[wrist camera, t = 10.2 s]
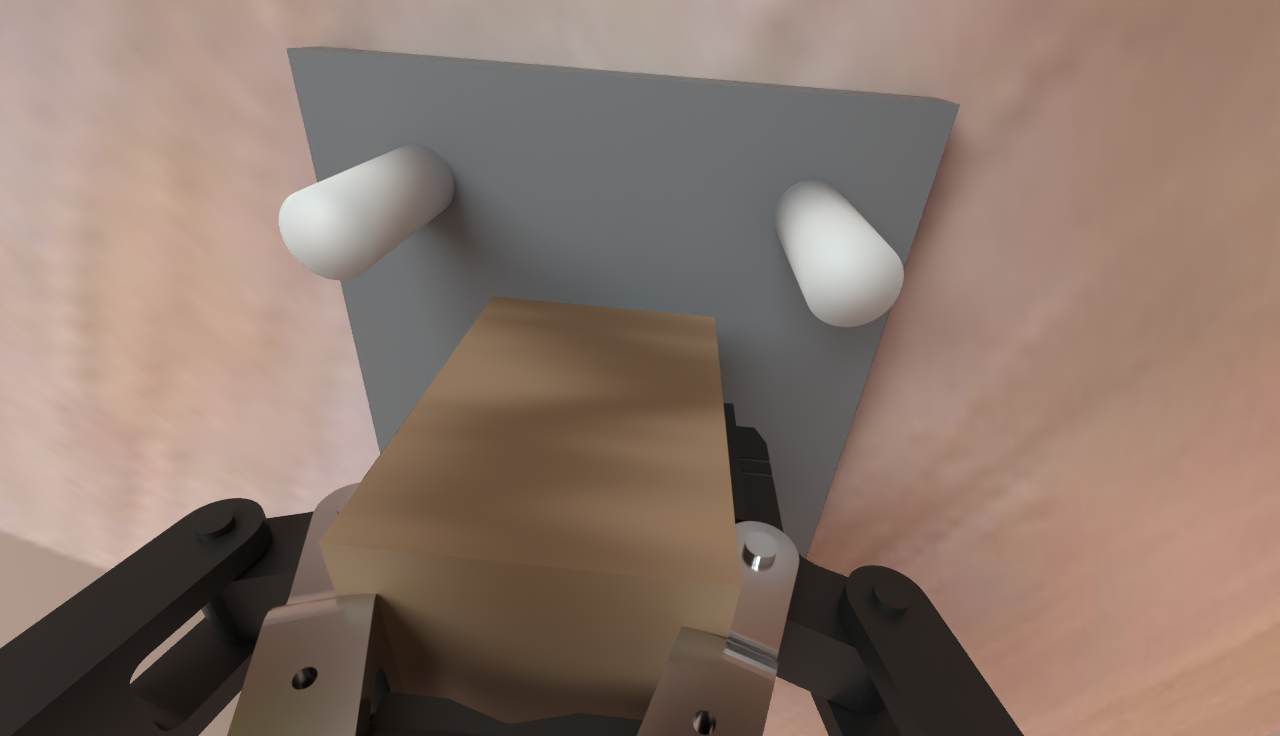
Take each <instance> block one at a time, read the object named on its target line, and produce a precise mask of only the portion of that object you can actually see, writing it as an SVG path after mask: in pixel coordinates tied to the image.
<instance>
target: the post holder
mask: <svg viewBox="0 0 1280 736" xmlns="http://www.w3.org/2000/svg"><path fill="white" fill-rule="evenodd" d="M287 53H288V57H289V61H290V66H291V70H292V74H293V79H294V83H295V87H296V91H297V96H298V100H299V104H300V109H301V113H302V117H303V122H304V126H305V130H306V135H307V139H308V143H309V148H310V152H311V156H312V161H313V165H314V169H315V173H316V178H317V182H318V183H316V184H313V185H311V186H309V187H306V188H304V189H302V190H299V191H297V192H295V193H293V194H292V195H290V196H289V197H288V198H287V199H286V200H285V201H284V203H283V205H282V207H281V209H280V213H279V228H280V232H281V235H282V238H283V240H284V242H285V244H286V246H287V248H288V249H289V251H290V252H291V254H292V255H293V256H294V257H295V258H296V259H297V260H298V261H299V262H300V263H301V264H302V265H303V266H305V267H306V268H307V269H309V270H310V271H312V272H314V273H316V274H317V275H320V276H322V277H325V278H329V279H334V280H340V281H341V286H342V290H343V294H344V299H345V303H346V307H347V312H348V316H349V320H350V325H351V329H352V333H353V337H354V342H355V346H356V350H357V355H358V359H359V363H360V368H361V372H362V376H363V381H364V385H365V389H366V394H367V398H368V402H369V407H370V411H371V415H372V419H373V424H374V428H375V432H376V437H377V441H378V445H379V450H380V454H381V453H382V452H383V450H384V449H385V447H386V446H387V444H388V443H389V442H390V440H391V439H392V438H393V437H394V435H395V433H396V432H397V430H398V429H399V428H400V426H401V425H402V424H403V422H404V421H405V419H406V418H407V416H408V415H409V414H410V412H411V411H412V409H413V408H414V407H415V405H416V404H417V403H418V401H419V400H420V398H421V397H422V396H423V394H424V393H425V391H426V390H427V389H428V387H429V386H430V384H431V383H432V382H433V380H434V379H435V377H436V376H437V374H438V373H439V372H440V370H441V369H442V367H443V366H444V365H445V363H446V362H447V360H448V359H449V358H450V356H451V355H452V353H453V352H454V350H455V349H456V348H457V346H458V345H459V343H460V342H461V341H462V339H463V338H464V336H465V335H466V334H467V332H468V331H469V329H470V328H471V326H472V325H473V324H474V322H475V321H476V319H477V318H478V317H479V315H480V314H481V312H482V311H483V310H484V308H485V307H486V305H487V304H488V302H489V301H490V300H491V298H492V297H493V296H494V297H505V298H516V299H526V300H537V301H548V302H558V303H569V304H580V305H591V306H601V307H612V308H623V309H633V310H644V311H655V312H665V313H676V314H687V315H698V316H708V317H715V324H716V334H717V344H718V354H719V364H720V374H721V385H722V395H723V403H733V405H734V412H735V420H736V426H743V427H754V428H755V429H756V430H757V432H758V433H759V434H760V435H761V437H762V438H763V439H764V441H765V442H766V443H767V448H768V454H769V459H770V462H769V463H770V464H771V469H772V478H773V480H774V485H775V490H776V496H777V501H778V506H779V511H780V517H781V522H782V527H783V531H784V534H786V535H787V536H788V537H789V538H790V539H791V541H792V542H793V543H794V545H795V547H796V549H797V551H798V553H799V554H800V555H801V556H802V557H804V558H805V559H806V556H807V553H808V550H809V548H810V545H811V542H812V539H813V536H814V533H815V530H816V527H817V524H818V521H819V518H820V515H821V512H822V509H823V506H824V503H825V500H826V497H827V494H828V492H829V489H830V486H831V483H832V480H833V477H834V474H835V471H836V468H837V465H838V462H839V459H840V456H841V453H842V450H843V447H844V444H845V441H846V438H847V435H848V433H849V430H850V427H851V424H852V421H853V418H854V415H855V412H856V409H857V406H858V403H859V400H860V397H861V394H862V391H863V388H864V385H865V382H866V379H867V376H868V374H869V371H870V368H871V365H872V362H873V359H874V356H875V353H876V350H877V347H878V344H879V341H880V338H881V335H882V332H883V329H884V326H885V323H886V320H887V317H888V315H889V312H890V309H891V306H892V305H893V304H894V302H895V301H896V299H897V298H898V296H899V294H900V291H901V289H902V285H903V280H904V271H903V270H904V267H905V264H906V261H907V259H908V256H909V253H910V250H911V247H912V244H913V241H914V238H915V235H916V232H917V229H918V226H919V223H920V220H921V217H922V214H923V211H924V208H925V205H926V202H927V200H928V197H929V194H930V191H931V188H932V185H933V182H934V179H935V176H936V173H937V170H938V167H939V164H940V161H941V158H942V155H943V152H944V149H945V146H946V143H947V141H948V138H949V135H950V132H951V129H952V126H953V123H954V120H955V117H956V114H957V111H958V108H959V104H956V103H952V102H949V101H945V100H942V99H938V98H930V97H918V96H906V95H894V94H882V93H870V92H858V91H846V90H834V89H822V88H810V87H798V86H786V85H774V84H762V83H750V82H738V81H726V80H714V79H702V78H690V77H678V76H666V75H654V74H642V73H630V72H618V71H606V70H594V69H582V68H570V67H558V66H546V65H534V64H522V63H510V62H498V61H486V60H474V59H462V58H450V57H438V56H426V55H414V54H402V53H390V52H378V51H366V50H354V49H342V48H330V47H303V48H287Z"/></svg>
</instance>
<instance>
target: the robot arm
mask: <svg viewBox="0 0 1280 736" xmlns="http://www.w3.org/2000/svg"><path fill="white" fill-rule="evenodd" d="M723 405H724V415H725V425H726V435H727V445H728V456H729V466H730V476H731V486H732V496H733V506H734V517H735V527H736V537H737V547H738V557H739V567H740V578H741V590H740V594H739V598H738V602H737V606H736V610H735V614H734V617H733V621H732V625H731V629H730V633H729V637H728V639H726V638H723V637H720V636H718V635H715V634H711V633H708V632H705V631H701V630H697V629H693V628H689V627H684V626H682V627H681V629H680V632H679V634H678V636H677V639H676V641H675V643H674V646H673V648H672V651H671V653H670V656H669V658H668V661H667V663H666V666H665V668H664V670H663V673H662V675H661V678H660V680H659V683H658V685H657V688H656V690H655V693H654V695H653V697H652V700H651V702H650V705H649V707H648V710H647V712H646V715H645V717H644V719H643V720H638V719H629V718H621V717H612V716H603V715H594V714H585V713H576V714H570V715H564V716H558V717H552V718H546V719H539V720H533V721H527V722H521V723H514V724H510V723H504V722H502V721H499V720H497V719H495V718H492V717H490V716H488V715H485V714H483V713H481V712H478V711H476V710H474V709H471V708H469V707H467V706H465V705H462V704H460V703H458V702H455V701H453V700H451V699H448V698H441V697H432V696H423V695H414V694H405V692H404V688H403V685H402V681H401V678H400V674H399V671H398V667H397V664H396V660H395V657H394V653H393V650H392V646H391V643H390V639H389V636H388V633H387V629H386V626H385V622H384V619H383V615H382V612H381V608H380V605H379V601H378V598H377V594H376V593H369V594H350V595H341V596H337V595H336V592H335V589H334V586H333V583H332V580H331V578H330V575H329V572H328V569H327V566H326V563H325V560H324V557H323V555H322V552H321V549H320V546H319V543H318V542H319V541H320V540H321V538H322V537H323V535H324V534H325V533H326V531H327V530H328V528H329V527H330V525H331V524H332V523H333V521H334V520H335V518H336V517H337V516H338V514H339V513H340V511H341V510H342V509H343V507H344V506H345V504H346V503H347V501H348V500H349V499H350V497H351V496H352V494H353V493H354V492H355V490H356V489H357V487H358V486H359V485H360V483H356V484H351V485H348V486H345V487H342V488H340V489H338V490H336V491H334V492H332V493H331V494H329V495H328V496H327V497H325V498H324V499H323V500H322V501H321V502H320V503H319V504H318V506H317V507H316V509H315V510H314V511H313V512H308V513H302V514H295V515H288V516H281V517H274V518H267V519H266V516H265V514H264V511H263V509H262V507H261V506H260V505H259V504H258V503H257V502H255V501H253V500H249V499H243V498H232V499H225V500H220V501H216V502H213V503H210V504H208V505H205V506H203V507H200V508H199V509H197V510H195V511H193V512H191V513H190V514H188V515H187V516H185V517H184V518H182V519H181V520H180V521H178V522H177V523H175V524H174V525H173V526H171V527H170V528H168V529H167V530H166V531H164V532H163V533H161V534H160V535H159V536H157V537H156V538H154V539H153V540H152V541H150V542H149V543H147V544H146V545H145V546H143V547H142V548H140V549H139V550H138V551H136V552H135V553H133V554H132V555H131V556H129V557H128V558H126V559H125V560H124V561H122V562H121V563H119V564H118V565H117V566H115V567H114V568H112V569H111V570H110V571H108V572H107V573H105V574H104V575H103V576H101V577H100V578H98V579H97V580H96V581H94V582H93V583H92V584H90V585H89V586H87V587H86V588H84V589H83V590H82V591H80V592H79V593H77V594H76V595H75V596H73V597H72V598H70V599H69V600H68V601H66V602H65V603H63V604H62V605H61V606H59V607H58V608H56V609H55V610H54V611H52V612H51V613H49V614H48V615H47V616H45V617H44V618H42V619H41V620H40V621H38V622H37V623H35V624H34V625H33V626H31V627H30V628H28V629H27V630H26V631H24V632H23V633H22V634H20V635H19V636H17V637H16V638H14V639H13V640H12V641H10V642H9V643H7V644H6V645H5V646H3V647H2V648H0V736H198V735H199V734H200V733H201V732H202V731H203V730H204V729H205V728H206V727H207V726H208V725H209V724H210V723H211V722H212V720H213V719H214V718H215V717H216V716H217V715H218V714H219V713H220V712H221V711H222V710H223V709H224V708H225V707H226V706H227V704H228V703H229V702H230V701H231V700H232V699H233V698H234V697H235V696H236V695H237V694H238V693H239V692H240V691H241V694H240V697H239V700H238V703H237V707H236V709H235V713H234V716H233V719H232V722H231V725H230V728H229V732H228V735H227V736H763V731H764V727H765V722H766V718H767V714H768V709H769V705H770V700H771V696H772V691H773V687H774V683H775V678H776V676H777V677H779V678H781V679H784V680H786V681H788V682H790V683H793V684H795V685H797V686H799V687H801V688H804V689H806V690H808V691H810V692H811V695H812V697H813V700H814V702H815V704H816V707H817V709H818V711H819V714H820V716H821V718H822V721H823V723H824V725H825V728H826V730H827V733H828V735H829V736H1024V735H1023V734H1022V732H1021V731H1020V729H1019V728H1018V727H1017V725H1016V724H1015V722H1014V721H1013V719H1012V718H1011V716H1010V715H1009V714H1008V712H1007V711H1006V709H1005V708H1004V706H1003V705H1002V704H1001V702H1000V701H999V699H998V698H997V696H996V695H995V693H994V692H993V691H992V689H991V688H990V686H989V685H988V683H987V682H986V681H985V679H984V678H983V676H982V675H981V673H980V672H979V670H978V669H977V668H976V666H975V665H974V663H973V662H972V660H971V659H970V658H969V656H968V655H967V653H966V652H965V650H964V649H963V647H962V646H961V645H960V643H959V642H958V640H957V639H956V637H955V636H954V634H953V633H952V632H951V630H950V629H949V627H948V626H947V624H946V623H945V622H944V620H943V619H942V617H941V616H940V614H939V613H938V611H937V610H936V609H935V607H934V606H933V604H932V603H931V601H930V600H929V599H928V597H927V596H926V594H925V593H924V592H923V591H922V589H921V588H920V587H919V586H918V585H917V584H916V583H914V582H913V581H912V580H911V579H909V578H908V577H906V576H905V575H903V574H901V573H899V572H897V571H895V570H893V569H890V568H887V567H882V566H875V565H870V566H863V567H860V568H858V569H856V570H854V571H853V572H852V573H851V574H850V576H849V577H846V576H843V575H840V574H838V573H835V572H833V571H830V570H827V569H825V568H822V567H820V566H817V565H815V564H813V563H811V562H810V561H808V560H806V559H805V558H804V557H802V556H801V555H800V554H799V553H798V551H797V549H796V547H795V545H794V543H793V542H792V541H791V539H790V538H789V537H788V536H787V535H786V534H784V531H783V527H782V522H781V517H780V511H779V506H778V501H777V496H776V490H775V485H774V480H773V478H772V469H771V464H770V463H769V462H770V459H769V454H768V448H767V443H766V442H765V441H764V439H763V438H762V437H761V435H760V434H759V433H758V432H757V430H756V429H755V428H754V427H743V426H736V420H735V412H734V405H733V403H723ZM412 410H413V409H412ZM410 413H411V412H410ZM407 417H408V416H407ZM405 420H406V419H405ZM400 427H401V426H400ZM397 431H398V430H397ZM395 434H396V433H395ZM390 441H391V440H390ZM388 444H389V443H388ZM388 444H387V445H388ZM385 448H386V447H385ZM383 451H384V450H383ZM380 455H381V454H380ZM378 458H379V457H378ZM376 461H377V460H376ZM376 461H375V462H376ZM373 465H374V464H373ZM371 468H372V467H371ZM371 468H370V469H371ZM368 472H369V471H368ZM366 475H367V474H366ZM366 475H365V476H366ZM363 479H364V478H363ZM361 482H362V481H361ZM200 609H201V610H202V611H203V613H204V615H205V618H204V619H203V620H202V621H201V622H199V623H198V624H197V625H196V626H195V627H194V628H193V629H192V630H191V631H189V632H188V633H187V634H186V635H185V636H184V637H183V638H182V639H180V640H179V641H178V642H177V643H176V644H175V645H174V646H172V647H171V648H170V649H169V650H168V651H167V652H166V653H165V654H163V655H162V657H160V658H159V659H158V660H157V661H156V662H154V663H153V664H152V665H151V666H150V667H149V668H148V669H147V670H146V671H144V672H143V673H142V674H141V675H140V676H139V677H138V678H137V679H135V680H134V681H133V682H132V683H131V684H130V680H131V677H132V675H133V673H134V671H135V670H136V668H137V667H138V665H139V664H140V663H141V662H142V661H143V660H144V659H145V658H146V657H147V656H148V655H149V654H150V653H151V652H152V651H153V650H154V649H156V648H157V647H158V646H159V645H160V644H162V643H163V642H164V641H165V640H166V639H167V638H168V637H170V636H171V635H172V634H173V633H174V632H175V631H176V630H177V629H179V628H180V627H181V626H182V625H183V624H184V623H185V622H186V621H188V620H189V619H190V618H191V617H192V616H194V615H195V614H196V613H197V612H198V611H199V610H200Z"/></svg>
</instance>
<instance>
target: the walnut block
mask: <svg viewBox="0 0 1280 736" xmlns="http://www.w3.org/2000/svg"><path fill="white" fill-rule="evenodd" d="M318 543H319V546H320V549H321V552H322V555H323V557H324V560H325V563H326V566H327V569H328V572H329V575H330V578H331V580H332V583H333V586H334V589H335V592H336V595H337V596H341V595H350V594H369V593H376V594H377V598H378V601H379V605H380V608H381V612H382V615H383V619H384V622H385V626H386V629H387V633H388V636H389V639H390V643H391V646H392V650H393V653H394V657H395V660H396V664H397V667H398V671H399V674H400V678H401V681H402V685H403V688H404V692H405V694H414V695H423V696H432V697H441V698H448V699H451V700H453V701H455V702H458V703H460V704H462V705H465V706H467V707H469V708H471V709H474V710H476V711H478V712H481V713H483V714H485V715H488V716H490V717H492V718H495V719H497V720H499V721H502V722H504V723H510V724H514V723H521V722H527V721H533V720H539V719H546V718H552V717H558V716H564V715H570V714H576V713H585V714H594V715H603V716H612V717H621V718H629V719H638V720H643V719H644V717H645V715H646V712H647V710H648V707H649V705H650V702H651V700H652V697H653V695H654V693H655V690H656V688H657V685H658V683H659V680H660V678H661V675H662V673H663V670H664V668H665V666H666V663H667V661H668V658H669V656H670V653H671V651H672V648H673V646H674V643H675V641H676V639H677V636H678V634H679V632H680V629H681V627H682V626H684V627H689V628H693V629H697V630H701V631H705V632H708V633H711V634H715V635H718V636H720V637H723V638H726V639H728V637H729V633H730V629H731V625H732V621H733V617H734V614H735V610H736V606H737V602H738V598H739V594H740V590H741V578H740V567H739V557H738V547H737V537H736V527H735V517H734V506H733V496H732V486H731V476H730V466H729V456H728V445H727V435H726V425H725V415H724V405H723V395H722V385H721V374H720V364H719V354H718V344H717V334H716V324H715V317H708V316H698V315H687V314H676V313H665V312H655V311H644V310H633V309H623V308H612V307H601V306H591V305H580V304H569V303H558V302H548V301H537V300H526V299H516V298H505V297H494V296H493V297H492V298H491V300H490V301H489V302H488V304H487V305H486V307H485V308H484V310H483V311H482V312H481V314H480V315H479V317H478V318H477V319H476V321H475V322H474V324H473V325H472V326H471V328H470V329H469V331H468V332H467V334H466V335H465V336H464V338H463V339H462V341H461V342H460V343H459V345H458V346H457V348H456V349H455V350H454V352H453V353H452V355H451V356H450V358H449V359H448V360H447V362H446V363H445V365H444V366H443V367H442V369H441V370H440V372H439V373H438V374H437V376H436V377H435V379H434V380H433V382H432V383H431V384H430V386H429V387H428V389H427V390H426V391H425V393H424V394H423V396H422V397H421V398H420V400H419V401H418V403H417V404H416V405H415V407H414V408H413V410H412V411H411V413H410V414H409V415H408V417H407V418H406V420H405V421H404V422H403V424H402V425H401V427H400V428H399V429H398V431H397V432H396V434H395V435H394V437H393V438H392V439H391V441H390V442H389V444H388V445H387V446H386V448H385V449H384V451H383V452H382V453H381V455H380V456H379V458H378V459H377V461H376V462H375V463H374V465H373V466H372V468H371V469H370V470H369V472H368V473H367V475H366V476H365V477H364V479H363V480H362V482H361V483H360V485H359V486H358V487H357V489H356V490H355V492H354V493H353V494H352V496H351V497H350V499H349V500H348V501H347V503H346V504H345V506H344V507H343V509H342V510H341V511H340V513H339V514H338V516H337V517H336V518H335V520H334V521H333V523H332V524H331V525H330V527H329V528H328V530H327V531H326V533H325V534H324V535H323V537H322V538H321V540H320V541H319V542H318Z"/></svg>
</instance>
